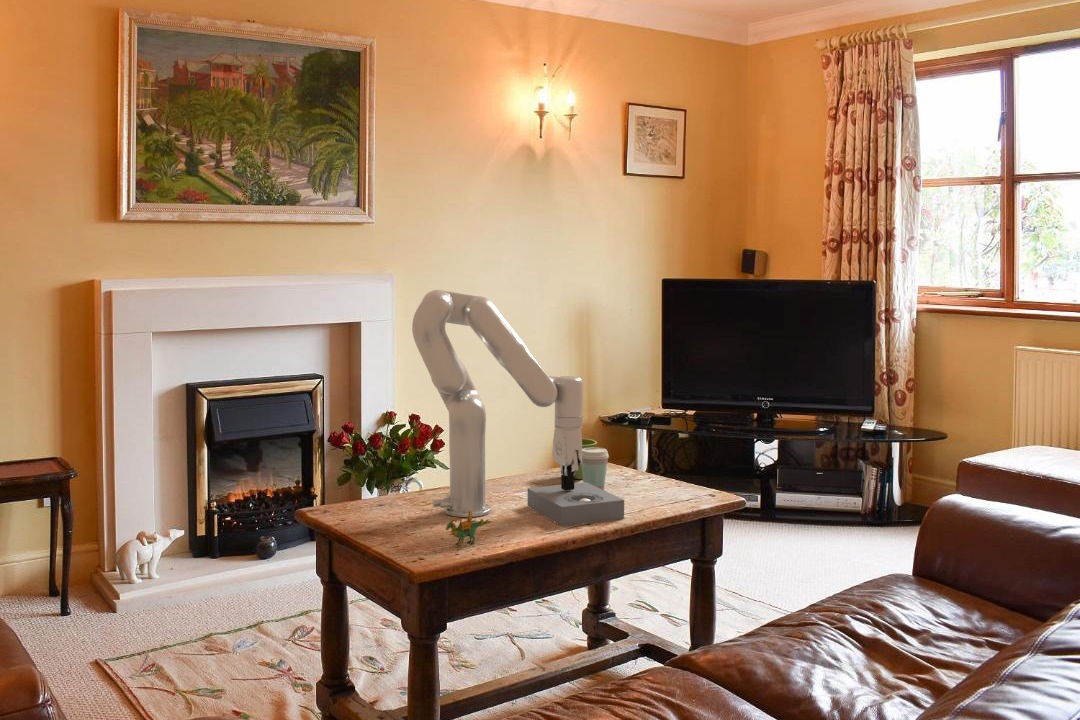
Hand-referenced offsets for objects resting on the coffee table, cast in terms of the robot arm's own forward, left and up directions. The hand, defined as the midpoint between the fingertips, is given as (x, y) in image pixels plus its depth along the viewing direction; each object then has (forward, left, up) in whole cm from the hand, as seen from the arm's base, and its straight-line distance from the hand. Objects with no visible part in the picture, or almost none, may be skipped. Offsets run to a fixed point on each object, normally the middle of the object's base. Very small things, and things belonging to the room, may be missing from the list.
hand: (567, 489), depth 273 cm
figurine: (-36, -20, -6) cm, 41 cm away
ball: (0, -10, -3) cm, 10 cm away
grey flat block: (0, -4, -5) cm, 7 cm away
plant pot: (+19, +33, -6) cm, 39 cm away
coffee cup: (+16, +16, -6) cm, 24 cm away
